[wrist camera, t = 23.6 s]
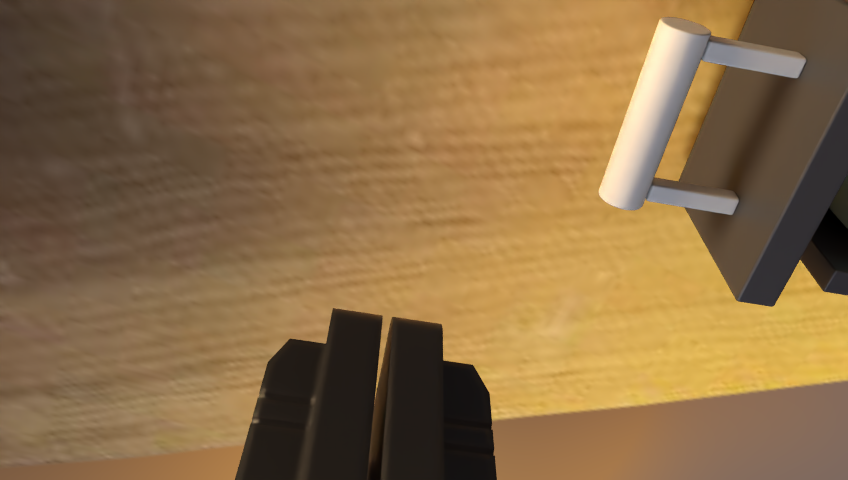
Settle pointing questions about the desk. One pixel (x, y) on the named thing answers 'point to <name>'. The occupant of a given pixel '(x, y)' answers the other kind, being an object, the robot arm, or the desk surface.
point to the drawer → (750, 143)
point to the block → (841, 203)
